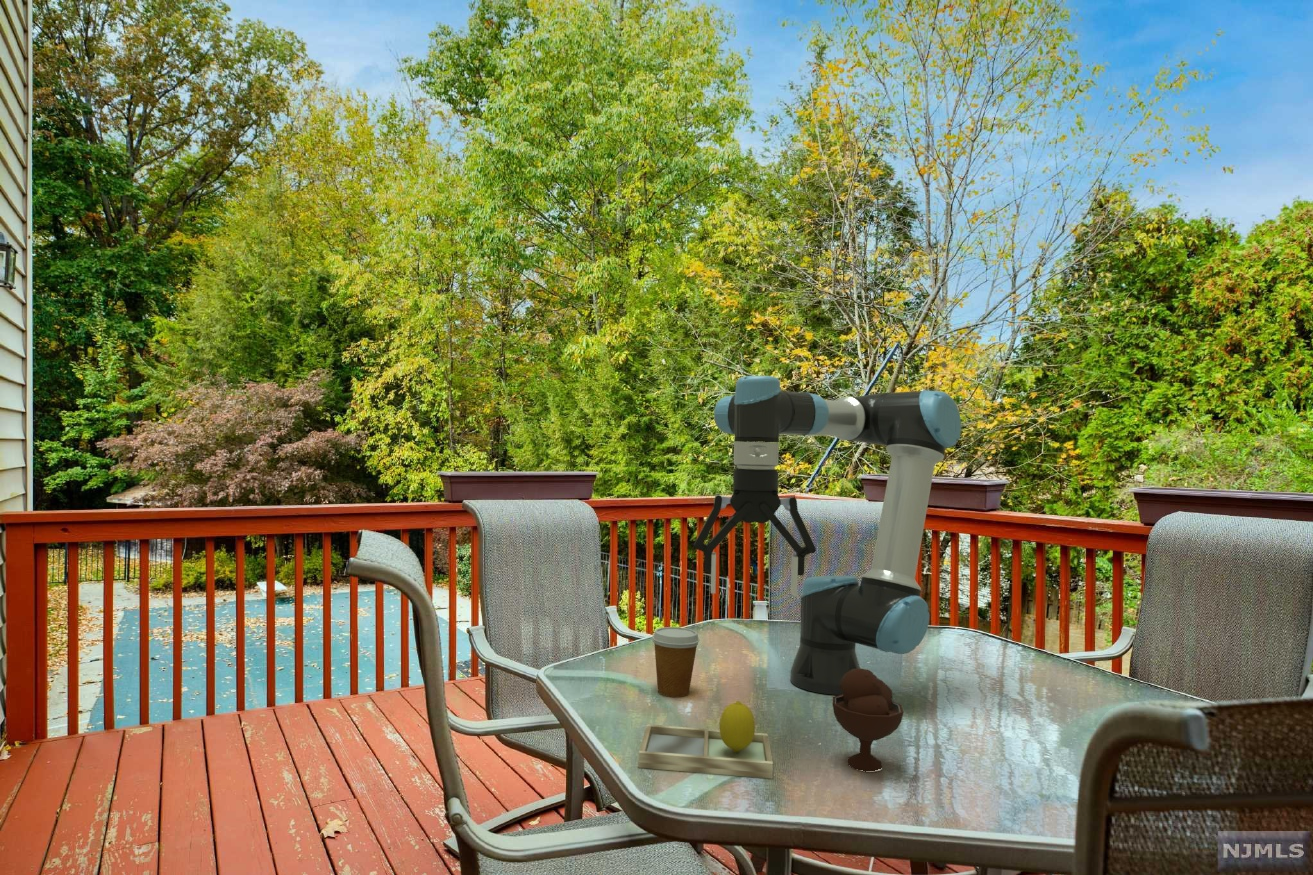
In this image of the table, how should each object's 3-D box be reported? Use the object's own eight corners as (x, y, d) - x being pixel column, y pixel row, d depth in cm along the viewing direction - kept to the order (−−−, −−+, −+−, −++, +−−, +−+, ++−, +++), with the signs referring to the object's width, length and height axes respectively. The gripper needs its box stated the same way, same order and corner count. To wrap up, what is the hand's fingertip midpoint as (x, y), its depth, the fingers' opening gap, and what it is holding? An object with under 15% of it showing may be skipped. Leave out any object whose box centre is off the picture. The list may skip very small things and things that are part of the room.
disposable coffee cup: (693, 702, 141) (696, 639, 141) (645, 696, 143) (648, 635, 143) (700, 687, 150) (702, 628, 151) (654, 682, 152) (657, 624, 152)
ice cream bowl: (892, 786, 107) (896, 683, 108) (819, 766, 113) (823, 669, 114) (909, 763, 116) (912, 668, 117) (840, 745, 122) (844, 655, 123)
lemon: (715, 745, 117) (718, 695, 118) (749, 746, 118) (752, 695, 118) (721, 759, 112) (724, 706, 112) (757, 760, 112) (759, 707, 113)
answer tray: (767, 747, 120) (767, 733, 120) (772, 778, 108) (772, 763, 108) (646, 737, 122) (646, 724, 122) (638, 767, 110) (638, 752, 110)
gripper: (681, 466, 121) (678, 595, 121) (834, 470, 119) (832, 600, 119) (682, 465, 128) (680, 586, 128) (826, 468, 127) (824, 591, 126)
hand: (753, 593), depth 123 cm, fingers open, 13 cm apart
